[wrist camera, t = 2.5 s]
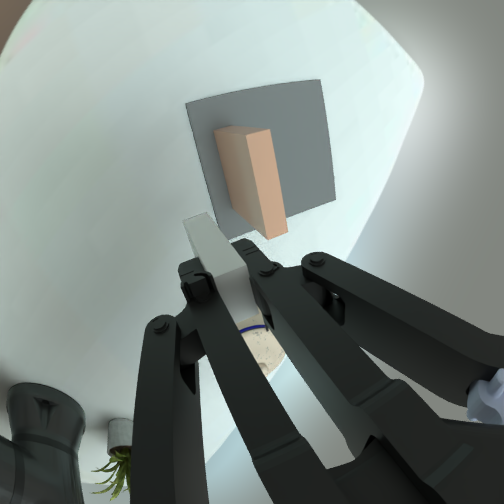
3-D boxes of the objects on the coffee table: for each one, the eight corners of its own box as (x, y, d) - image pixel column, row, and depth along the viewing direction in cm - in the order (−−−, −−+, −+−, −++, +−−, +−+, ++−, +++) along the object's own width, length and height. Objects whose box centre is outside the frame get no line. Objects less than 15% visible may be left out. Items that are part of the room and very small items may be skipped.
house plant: (64, 412, 35) (68, 495, 21) (125, 393, 38) (143, 484, 24) (109, 445, 42) (122, 514, 29) (165, 428, 45) (188, 501, 32)
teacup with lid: (223, 347, 41) (254, 407, 32) (180, 318, 36) (203, 387, 26) (284, 293, 41) (330, 345, 31) (248, 256, 36) (295, 310, 26)
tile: (232, 208, 32) (267, 240, 24) (213, 130, 27) (245, 135, 20) (249, 202, 32) (289, 231, 25) (232, 125, 28) (271, 128, 20)
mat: (222, 240, 33) (223, 241, 33) (185, 103, 25) (186, 103, 25) (334, 198, 37) (335, 199, 37) (318, 79, 29) (320, 79, 29)
